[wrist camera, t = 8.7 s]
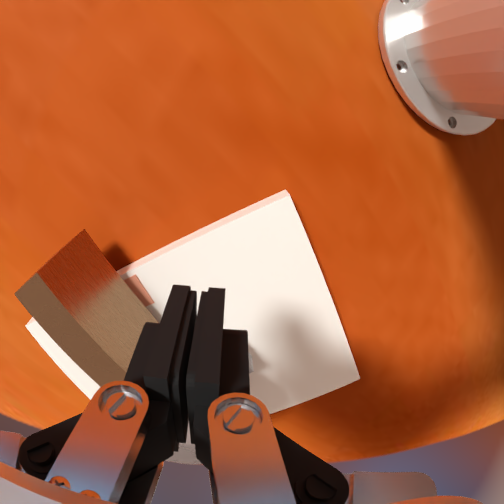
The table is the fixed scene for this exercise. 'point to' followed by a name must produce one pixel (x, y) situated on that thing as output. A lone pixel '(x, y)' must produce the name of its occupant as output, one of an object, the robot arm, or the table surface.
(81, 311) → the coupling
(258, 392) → the base
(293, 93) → the table surface
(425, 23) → the robot arm
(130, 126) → the table surface
